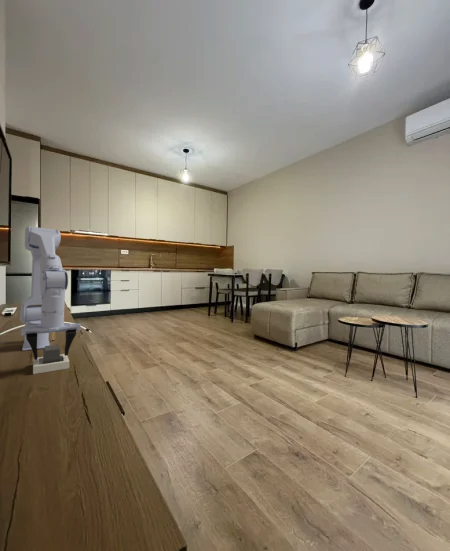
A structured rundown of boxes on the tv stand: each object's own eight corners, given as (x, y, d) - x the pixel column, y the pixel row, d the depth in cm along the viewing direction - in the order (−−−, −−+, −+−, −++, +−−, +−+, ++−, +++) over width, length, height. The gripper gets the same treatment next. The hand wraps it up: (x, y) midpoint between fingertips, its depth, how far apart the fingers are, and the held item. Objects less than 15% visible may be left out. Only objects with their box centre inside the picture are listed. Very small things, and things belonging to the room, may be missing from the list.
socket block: (33, 364, 76) (33, 358, 76) (66, 359, 81) (66, 353, 81) (33, 374, 69) (33, 366, 69) (69, 368, 74) (69, 361, 74)
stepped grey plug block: (42, 365, 76) (43, 345, 76) (58, 363, 78) (59, 344, 78) (42, 370, 72) (43, 349, 72) (59, 367, 75) (60, 347, 75)
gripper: (21, 314, 68) (19, 365, 68) (82, 311, 76) (81, 356, 76) (22, 311, 73) (20, 357, 73) (79, 308, 82) (78, 350, 82)
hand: (51, 356), depth 75 cm, fingers open, 7 cm apart
